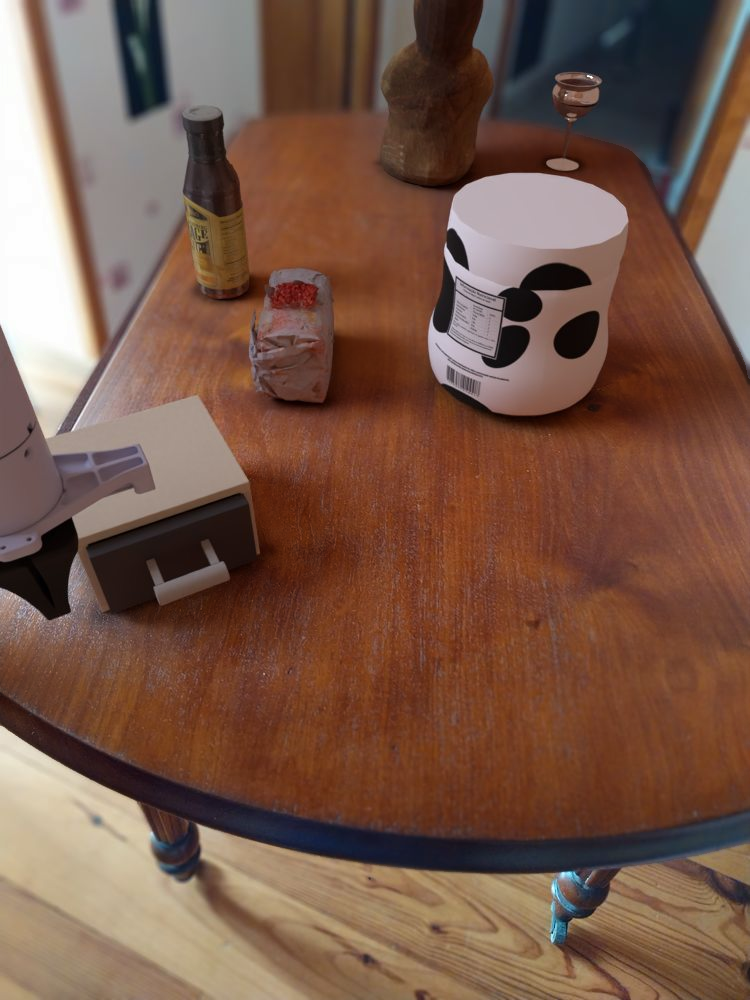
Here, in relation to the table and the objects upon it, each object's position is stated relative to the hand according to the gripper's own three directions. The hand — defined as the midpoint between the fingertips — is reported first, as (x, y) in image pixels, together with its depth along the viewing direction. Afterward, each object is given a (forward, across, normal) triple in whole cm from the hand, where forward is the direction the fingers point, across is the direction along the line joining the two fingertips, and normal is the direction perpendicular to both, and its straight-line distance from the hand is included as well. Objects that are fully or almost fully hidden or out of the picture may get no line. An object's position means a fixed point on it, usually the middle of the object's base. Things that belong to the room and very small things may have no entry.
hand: (56, 604), depth 45 cm
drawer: (+8, +8, +8) cm, 14 cm away
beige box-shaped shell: (+9, +8, +12) cm, 17 cm away
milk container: (+10, +46, +16) cm, 50 cm away
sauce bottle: (+10, +26, +46) cm, 54 cm away
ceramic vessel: (+10, +65, +64) cm, 92 cm away
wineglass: (+10, +86, +59) cm, 104 cm away
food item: (+10, +27, +28) cm, 40 cm away
